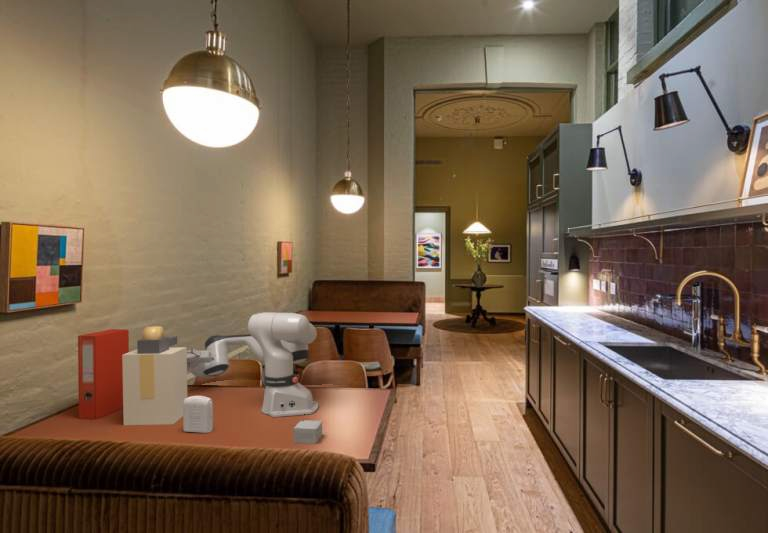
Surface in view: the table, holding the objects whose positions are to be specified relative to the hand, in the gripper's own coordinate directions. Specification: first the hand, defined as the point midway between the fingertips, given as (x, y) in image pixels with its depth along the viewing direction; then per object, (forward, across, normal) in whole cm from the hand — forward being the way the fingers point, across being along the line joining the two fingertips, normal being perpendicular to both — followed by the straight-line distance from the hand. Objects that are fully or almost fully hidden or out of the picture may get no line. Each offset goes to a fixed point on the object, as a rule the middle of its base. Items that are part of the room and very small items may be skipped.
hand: (181, 350), depth 197 cm
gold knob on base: (+18, 0, -5) cm, 19 cm away
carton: (+9, 0, -30) cm, 32 cm away
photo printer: (+21, -21, -37) cm, 48 cm away
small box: (+29, -61, -42) cm, 80 cm away
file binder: (+1, +25, -26) cm, 36 cm away
